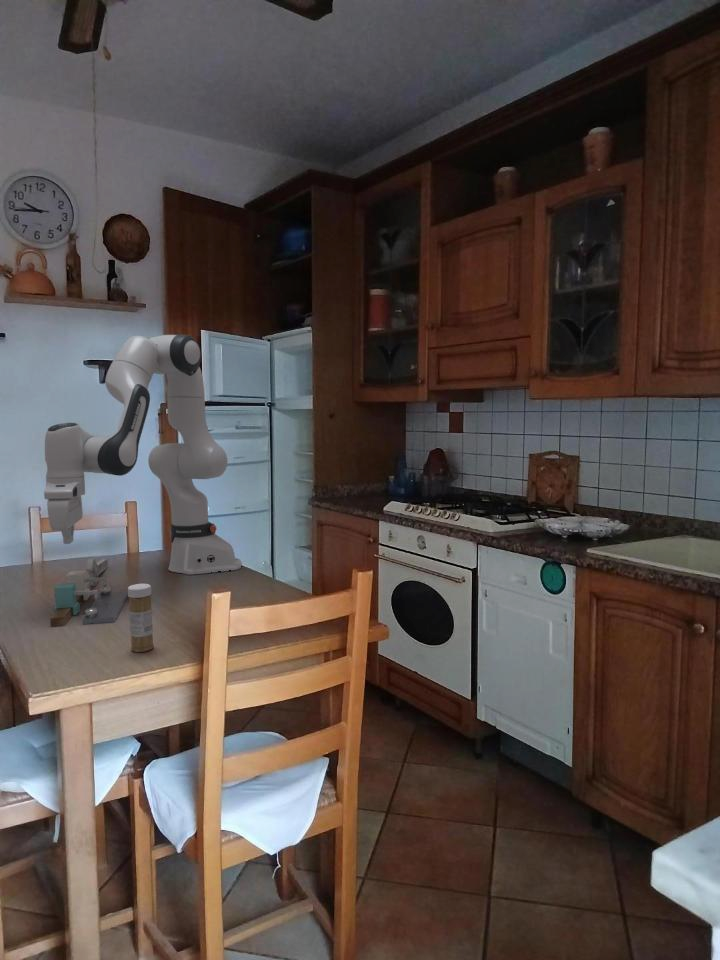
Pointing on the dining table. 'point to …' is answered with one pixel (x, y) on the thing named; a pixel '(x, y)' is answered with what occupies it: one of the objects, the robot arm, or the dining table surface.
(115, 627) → the dining table surface
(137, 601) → the sprinkles bottle
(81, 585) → the fixed leg
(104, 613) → the bolt plate
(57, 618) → the rail
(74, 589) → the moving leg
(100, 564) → the wrench
